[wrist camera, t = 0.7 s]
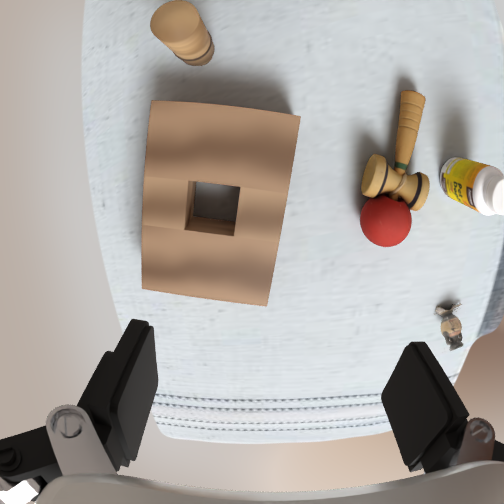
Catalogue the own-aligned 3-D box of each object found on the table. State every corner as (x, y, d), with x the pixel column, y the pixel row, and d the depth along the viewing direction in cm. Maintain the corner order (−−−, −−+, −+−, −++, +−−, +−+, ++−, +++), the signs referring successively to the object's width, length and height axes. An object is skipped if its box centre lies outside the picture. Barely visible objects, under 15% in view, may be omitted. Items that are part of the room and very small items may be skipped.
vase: (453, 329, 42) (467, 352, 37) (426, 333, 43) (439, 358, 37) (461, 302, 40) (478, 324, 35) (433, 305, 41) (449, 328, 35)
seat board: (165, 103, 30) (151, 100, 26) (293, 118, 31) (300, 116, 26) (154, 269, 38) (142, 288, 33) (265, 284, 39) (266, 306, 34)
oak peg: (185, 38, 27) (154, 0, 16) (220, 40, 28) (203, -1, 17) (180, 69, 29) (144, 42, 18) (214, 71, 29) (194, 42, 18)
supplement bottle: (430, 174, 33) (480, 193, 23) (456, 147, 31) (509, 159, 22) (450, 206, 34) (498, 232, 25) (474, 180, 33) (524, 200, 23)
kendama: (368, 85, 31) (337, 232, 35) (401, 76, 25) (366, 248, 29) (416, 109, 32) (388, 243, 37) (450, 105, 27) (419, 258, 31)
